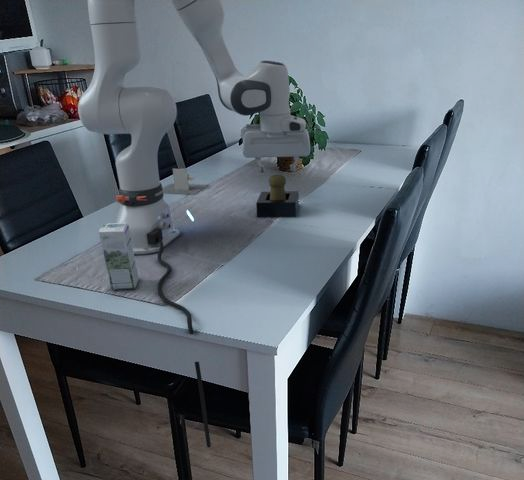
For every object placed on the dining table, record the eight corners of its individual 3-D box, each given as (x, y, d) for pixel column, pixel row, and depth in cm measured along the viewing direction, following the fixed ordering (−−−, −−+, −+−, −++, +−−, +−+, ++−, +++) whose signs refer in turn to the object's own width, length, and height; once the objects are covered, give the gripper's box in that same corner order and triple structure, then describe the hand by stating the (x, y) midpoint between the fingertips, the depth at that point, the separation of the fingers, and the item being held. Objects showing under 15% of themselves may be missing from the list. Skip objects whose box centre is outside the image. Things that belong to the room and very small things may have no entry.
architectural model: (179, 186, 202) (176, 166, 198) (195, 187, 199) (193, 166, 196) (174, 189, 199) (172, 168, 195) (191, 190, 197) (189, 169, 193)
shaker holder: (295, 216, 165) (295, 202, 163) (257, 217, 167) (256, 202, 164) (298, 204, 175) (298, 190, 173) (262, 205, 177) (261, 191, 174)
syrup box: (139, 279, 132) (128, 221, 124) (135, 289, 127) (123, 229, 119) (115, 280, 132) (103, 222, 124) (110, 291, 127) (97, 231, 119)
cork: (288, 207, 173) (287, 172, 167) (287, 213, 168) (286, 177, 162) (269, 208, 174) (268, 173, 168) (268, 214, 169) (266, 178, 163)
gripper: (238, 126, 156) (242, 175, 164) (309, 124, 153) (309, 173, 161) (241, 122, 161) (245, 169, 169) (310, 119, 159) (310, 167, 166)
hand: (277, 171), depth 165 cm, fingers open, 8 cm apart
